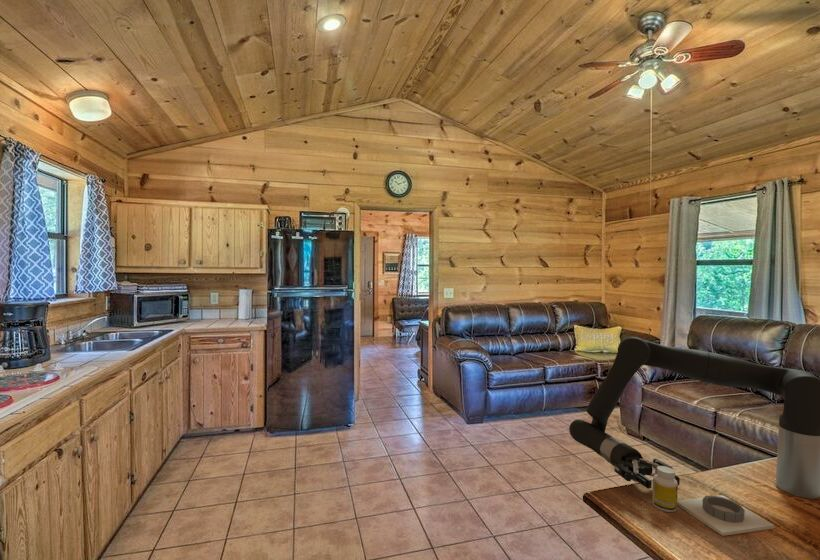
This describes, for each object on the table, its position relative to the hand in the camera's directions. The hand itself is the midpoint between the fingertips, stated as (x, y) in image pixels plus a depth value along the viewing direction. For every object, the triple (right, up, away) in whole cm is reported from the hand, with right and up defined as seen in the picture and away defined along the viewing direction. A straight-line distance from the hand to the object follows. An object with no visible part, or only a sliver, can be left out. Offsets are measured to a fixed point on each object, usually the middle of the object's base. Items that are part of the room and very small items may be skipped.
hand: (664, 483), depth 108 cm
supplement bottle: (0, -6, 0) cm, 6 cm away
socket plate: (+12, -6, -3) cm, 14 cm away
